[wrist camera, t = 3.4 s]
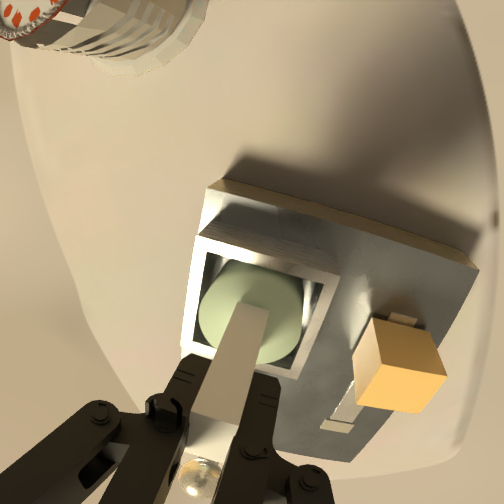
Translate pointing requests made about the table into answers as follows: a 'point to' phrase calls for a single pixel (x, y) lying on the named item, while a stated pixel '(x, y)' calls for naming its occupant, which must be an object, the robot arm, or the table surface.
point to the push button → (256, 294)
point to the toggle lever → (199, 477)
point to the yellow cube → (396, 367)
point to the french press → (107, 30)
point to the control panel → (325, 301)
